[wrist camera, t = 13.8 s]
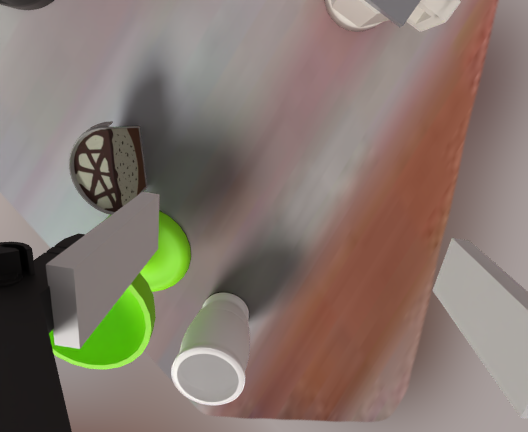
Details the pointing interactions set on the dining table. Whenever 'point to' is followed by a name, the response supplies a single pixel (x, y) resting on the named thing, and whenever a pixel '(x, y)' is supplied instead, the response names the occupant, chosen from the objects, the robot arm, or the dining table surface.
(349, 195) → the dining table surface
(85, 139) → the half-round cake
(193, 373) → the jar
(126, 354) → the wineglass
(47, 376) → the robot arm
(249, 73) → the dining table surface
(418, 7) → the press pot
